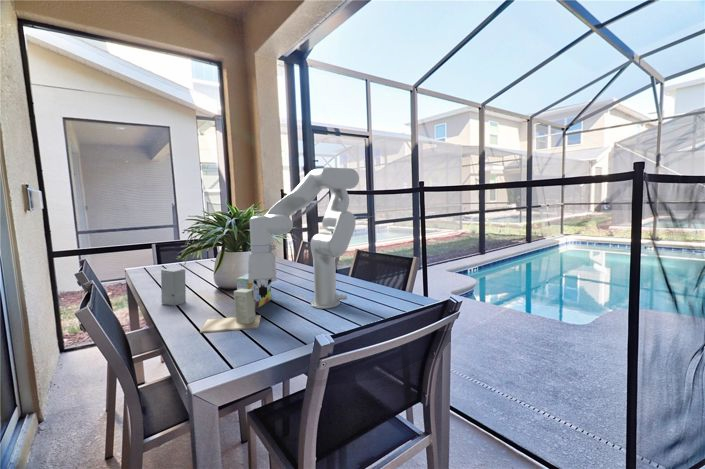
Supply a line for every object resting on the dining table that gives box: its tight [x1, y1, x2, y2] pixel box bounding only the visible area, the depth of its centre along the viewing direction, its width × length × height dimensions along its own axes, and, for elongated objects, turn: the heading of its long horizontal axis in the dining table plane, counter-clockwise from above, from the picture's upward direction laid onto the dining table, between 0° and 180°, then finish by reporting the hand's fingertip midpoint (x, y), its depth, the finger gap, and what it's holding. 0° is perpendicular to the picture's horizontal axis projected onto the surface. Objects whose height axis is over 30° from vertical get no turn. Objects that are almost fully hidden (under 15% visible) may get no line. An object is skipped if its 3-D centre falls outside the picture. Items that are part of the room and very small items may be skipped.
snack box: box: [236, 273, 272, 311], centre depth 149 cm, size 21×6×15 cm, turn 168°
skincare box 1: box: [160, 267, 187, 306], centre depth 156 cm, size 8×7×16 cm
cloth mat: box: [199, 314, 262, 334], centre depth 129 cm, size 20×12×1 cm, turn 101°
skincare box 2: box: [233, 289, 256, 324], centre depth 129 cm, size 6×4×12 cm
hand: (263, 296), depth 130 cm, fingers closed
